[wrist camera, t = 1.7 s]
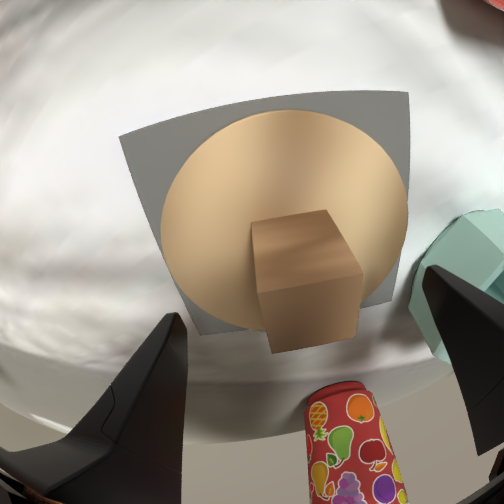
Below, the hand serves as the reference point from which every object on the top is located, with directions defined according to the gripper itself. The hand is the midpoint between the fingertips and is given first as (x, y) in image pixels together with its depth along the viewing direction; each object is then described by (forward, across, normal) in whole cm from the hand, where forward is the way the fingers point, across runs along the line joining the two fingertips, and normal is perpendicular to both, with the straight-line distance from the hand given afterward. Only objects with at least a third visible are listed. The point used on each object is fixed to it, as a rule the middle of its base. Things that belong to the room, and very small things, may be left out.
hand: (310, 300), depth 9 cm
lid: (+4, 0, 0) cm, 4 cm away
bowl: (+4, -12, +5) cm, 14 cm away
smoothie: (+5, -3, +19) cm, 20 cm away
